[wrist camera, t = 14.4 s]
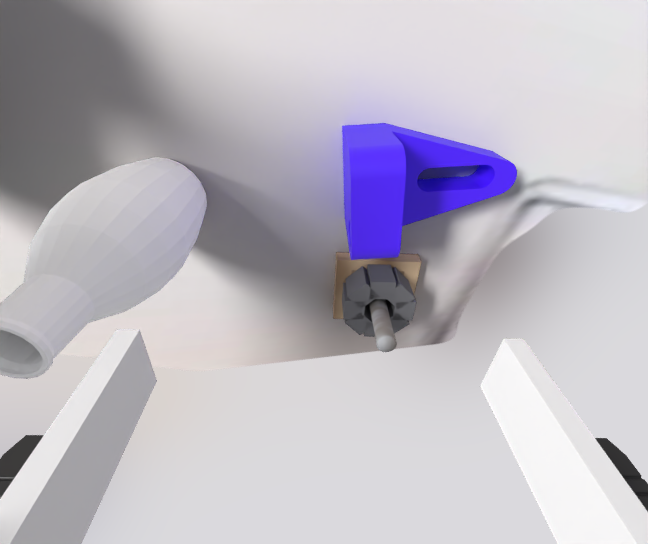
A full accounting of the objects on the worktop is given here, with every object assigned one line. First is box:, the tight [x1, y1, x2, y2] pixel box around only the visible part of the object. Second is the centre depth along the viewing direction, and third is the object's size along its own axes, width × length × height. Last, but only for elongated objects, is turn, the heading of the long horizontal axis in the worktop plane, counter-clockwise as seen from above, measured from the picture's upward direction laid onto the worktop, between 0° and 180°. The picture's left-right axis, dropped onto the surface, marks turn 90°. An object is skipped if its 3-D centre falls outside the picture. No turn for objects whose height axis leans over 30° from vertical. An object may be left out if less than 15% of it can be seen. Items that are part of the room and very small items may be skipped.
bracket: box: [342, 123, 517, 260], centre depth 34 cm, size 18×11×12 cm, turn 93°
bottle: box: [0, 157, 207, 379], centre depth 30 cm, size 11×11×25 cm
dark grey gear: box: [342, 264, 416, 337], centre depth 45 cm, size 9×9×4 cm
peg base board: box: [333, 252, 421, 352], centre depth 43 cm, size 11×10×12 cm
